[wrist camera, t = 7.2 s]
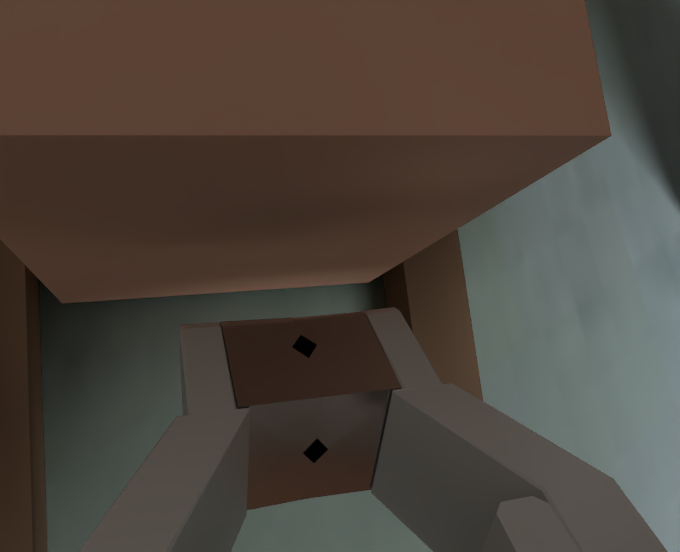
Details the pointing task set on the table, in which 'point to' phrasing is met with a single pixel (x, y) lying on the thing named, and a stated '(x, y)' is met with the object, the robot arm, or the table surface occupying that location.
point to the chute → (26, 372)
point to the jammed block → (274, 134)
